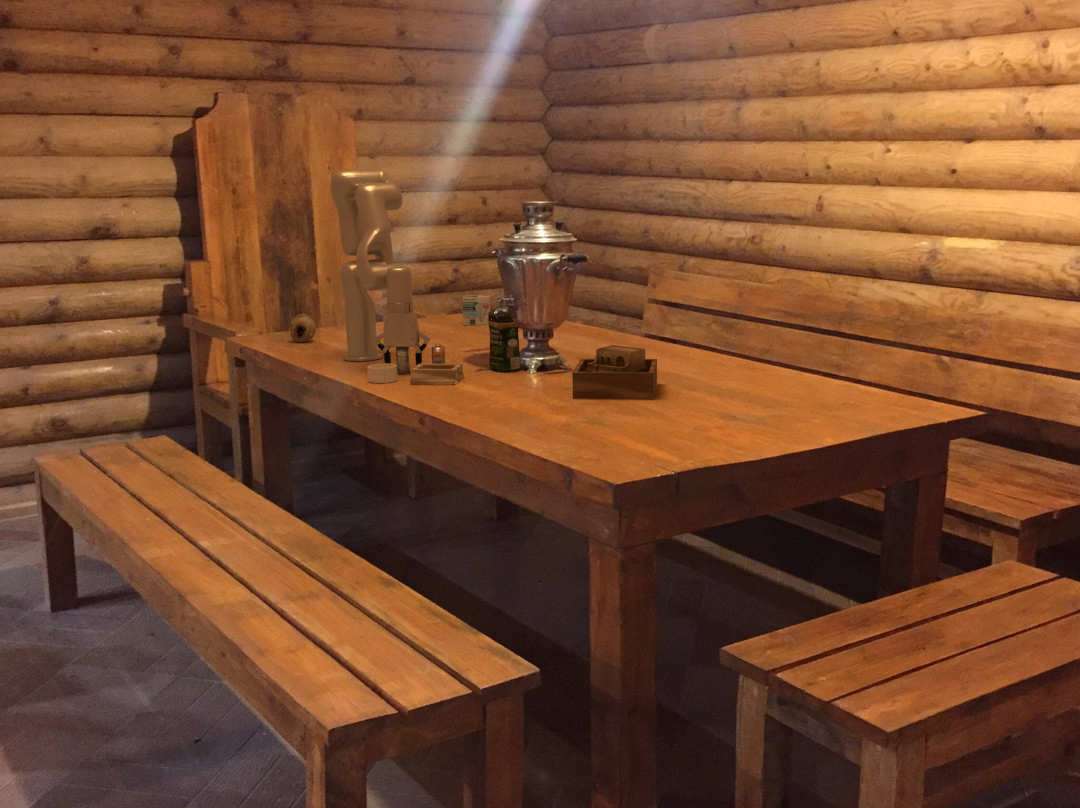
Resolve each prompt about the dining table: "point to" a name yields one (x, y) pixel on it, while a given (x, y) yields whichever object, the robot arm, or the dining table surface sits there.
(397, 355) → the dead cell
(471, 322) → the light bulb box
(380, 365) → the beige piece
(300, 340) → the tan rounded piece
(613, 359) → the miniature house
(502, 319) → the coffee jar
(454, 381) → the tray
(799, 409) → the dining table surface
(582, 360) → the open brown storage box
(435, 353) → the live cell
